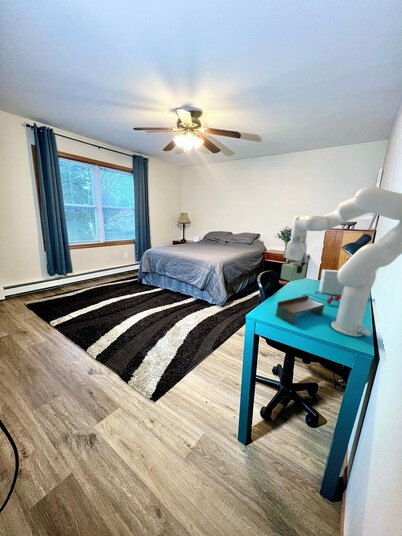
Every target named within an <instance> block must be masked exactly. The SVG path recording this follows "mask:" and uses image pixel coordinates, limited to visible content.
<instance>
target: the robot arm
mask: <svg viewBox="0 0 402 536" xmlns="http://www.w3.org/2000/svg"><path fill="white" fill-rule="evenodd" d="M370 213H372V214H375V215H378V216H380V217H384V218H387V219H390V220H394V221H398V222H397V224H396V225H395V226H393V227H392V228H391V229H389V230H388V231H387V232H386V233H385V234H384V235H383V236H382V237H381V238H380V239H379V240H378V241H376V242H375V243H368V244H365V245H363V246H362V247H360V248H359V249H357V251H356V252H354V253H353V254H352V255H351V256H350V257H349V258H348V260H346V261H345V263H343V264H342V266H341V267H340V268H339V269H338V274H337V278H338V281H339V282H340V283H341V284H342V285H343V286H344V289H343V292H342V295H340V298H341V299H340V300H339V306H338V309H337V313H336V319H335V320H333V321H331V324H330V326H331V328H332V329H333V330H335V331H336V332H338V333H340V334H343V335H346V336H350V337H355V338H357V337H362V336H366V337H370V336H371V335H372V332H371V329H368V328H366V327H365V324H364V323H363V319H364V315H365V312H366V308H367V304H368V301H369V297H370V294H371V291H372V288H373V286H374V284H375V282H376V278H377V272H376V271H377V270H378V269H380V268H384V267H387V266H389V265H391V264H392V263H393V262H394V261H395V260H396V259H398V258H399V257H400V256H401V255H402V192H396V191H392V190H388V189H385V188H381V187H378V186H373V185H369V186H365V187H362V188H360V189H359V190H358V191H356V193H355V194H354V196H353V197H351V198H348V199H347V200H344V201H341V202H339V204H338V205H337V208H336V209H335V210H334V211H331V212H329V213H327V214H324V215H295V216H294V217H293V220H292V227H291V234H290V235H289V238H288V239H289V241H288V243H287V246H286V248H285V249H286V250H285V252H284V254H283V255H282V257H283V259H284V261H285V264H290V263H291V262H293V261H294V262H298V263H299V266H298V268H297V273H301V272H302V268H303V266H304V265H307V264H308V263H309V262H310V259H309V258H308V256H307V251H308V250H307V247H308V246H307V235H308V232H324V231H326V230H329V229H332V228H336V227H338V226H340V225H343V224H345V223H347V222H348V221H351V220H353V219H357V218H358V217H362V216H364V215H367V214H370Z"/></svg>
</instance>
